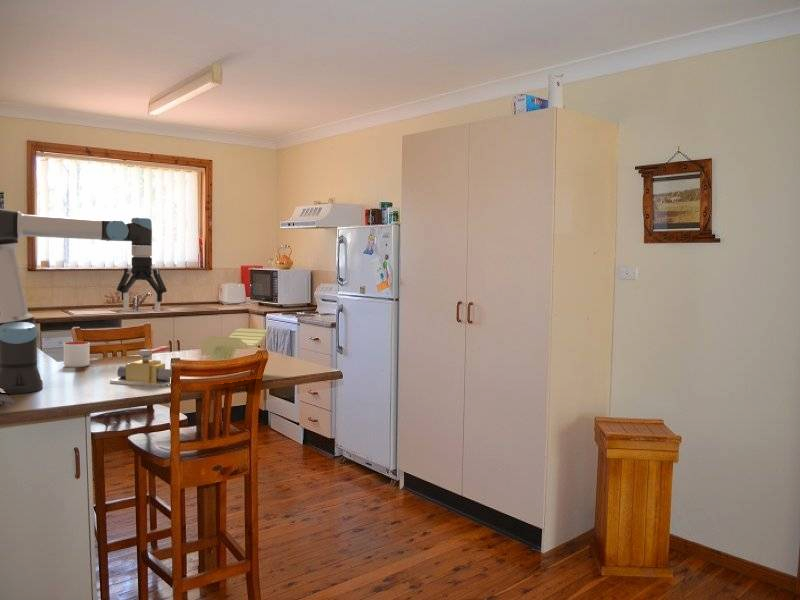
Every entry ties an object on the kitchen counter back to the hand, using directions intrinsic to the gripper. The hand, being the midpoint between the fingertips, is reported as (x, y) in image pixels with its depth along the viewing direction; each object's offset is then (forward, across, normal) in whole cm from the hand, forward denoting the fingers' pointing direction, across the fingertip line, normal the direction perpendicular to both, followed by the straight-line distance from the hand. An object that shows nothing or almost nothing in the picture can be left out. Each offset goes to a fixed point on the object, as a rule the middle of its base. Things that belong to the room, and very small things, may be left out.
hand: (141, 309), depth 252 cm
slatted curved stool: (+27, -34, -14) cm, 46 cm away
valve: (+27, -8, +11) cm, 30 cm away
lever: (+16, -8, +5) cm, 19 cm away
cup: (+27, +37, -11) cm, 47 cm away
